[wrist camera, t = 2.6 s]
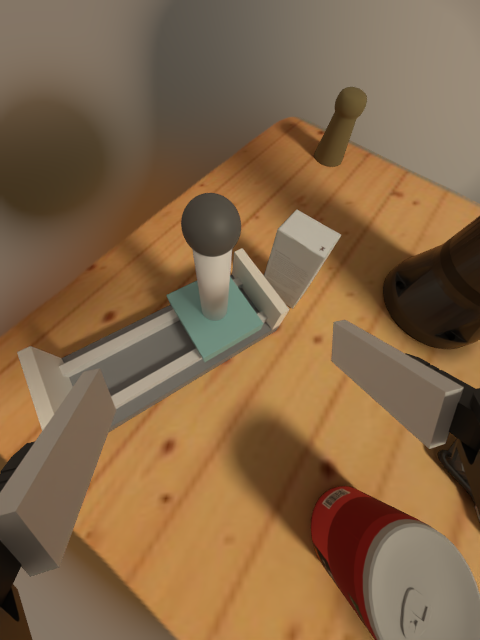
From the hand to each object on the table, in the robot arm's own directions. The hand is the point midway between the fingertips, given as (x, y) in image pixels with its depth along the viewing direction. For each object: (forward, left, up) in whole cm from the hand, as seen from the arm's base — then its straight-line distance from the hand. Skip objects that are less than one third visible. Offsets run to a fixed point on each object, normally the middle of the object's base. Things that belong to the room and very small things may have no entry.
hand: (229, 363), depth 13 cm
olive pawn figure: (-44, -30, -18) cm, 56 cm away
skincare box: (-16, -8, -18) cm, 25 cm away
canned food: (-4, +18, -18) cm, 26 cm away
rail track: (+2, -9, -18) cm, 20 cm away
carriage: (-4, -8, -14) cm, 17 cm away
